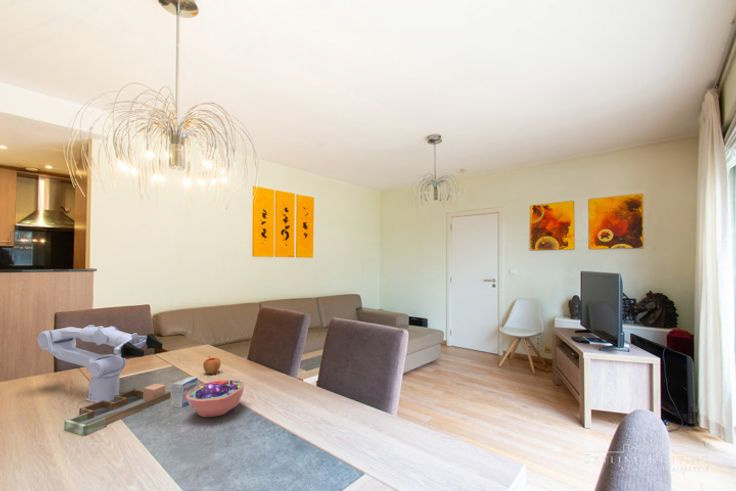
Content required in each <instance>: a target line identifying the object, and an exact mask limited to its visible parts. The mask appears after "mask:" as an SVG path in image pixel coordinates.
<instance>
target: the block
mask: <svg viewBox="0 0 736 491" xmlns="http://www.w3.org/2000/svg"><path fill="white" fill-rule="evenodd" d="M142 391H143V400H144V401H147V400H150V399H152V398H155V397H157V396H160V395H162V394H164V393H166V385H165V384H160V383H153V384H150V385H148V386H144V387H143V389H142Z"/></svg>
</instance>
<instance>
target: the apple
mask: <svg viewBox="0 0 736 491" xmlns="http://www.w3.org/2000/svg"><path fill="white" fill-rule="evenodd" d="M202 367H203V370H204V371H205V373H206V374H208V375H210V374H211V375H214V374H215V373H217V372H218V371H219V370H220V368H221V360H220V359H219V358H217V357H210V355H209V356H208V359H205V361H203V366H202ZM209 373H210V374H209Z"/></svg>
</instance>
